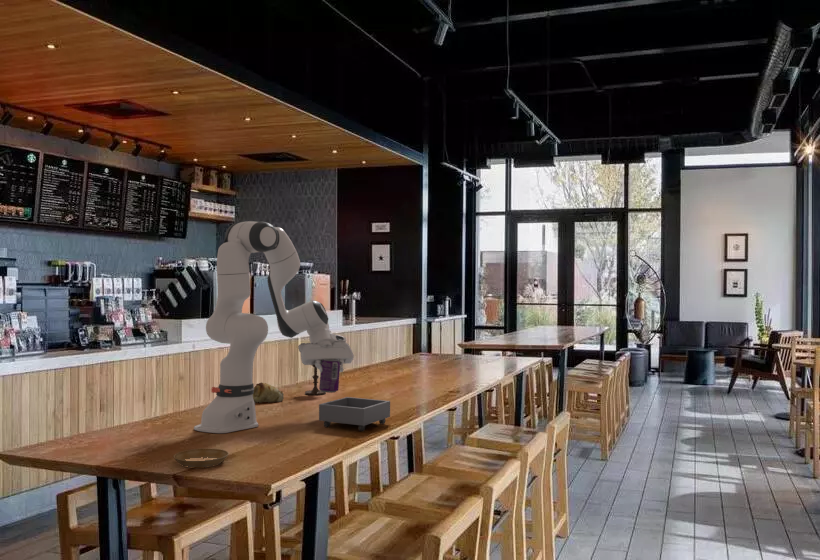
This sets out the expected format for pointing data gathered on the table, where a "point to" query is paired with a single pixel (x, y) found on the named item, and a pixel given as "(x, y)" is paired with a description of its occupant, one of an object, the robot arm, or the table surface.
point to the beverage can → (329, 376)
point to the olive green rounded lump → (267, 393)
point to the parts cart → (354, 411)
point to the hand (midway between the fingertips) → (332, 371)
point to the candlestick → (315, 385)
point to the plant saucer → (200, 453)
